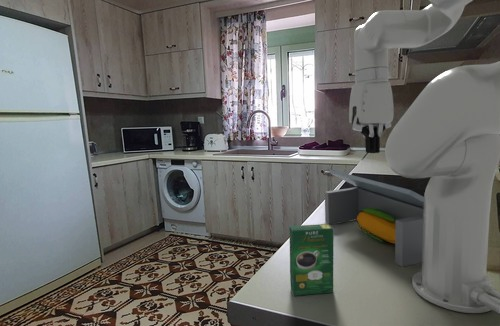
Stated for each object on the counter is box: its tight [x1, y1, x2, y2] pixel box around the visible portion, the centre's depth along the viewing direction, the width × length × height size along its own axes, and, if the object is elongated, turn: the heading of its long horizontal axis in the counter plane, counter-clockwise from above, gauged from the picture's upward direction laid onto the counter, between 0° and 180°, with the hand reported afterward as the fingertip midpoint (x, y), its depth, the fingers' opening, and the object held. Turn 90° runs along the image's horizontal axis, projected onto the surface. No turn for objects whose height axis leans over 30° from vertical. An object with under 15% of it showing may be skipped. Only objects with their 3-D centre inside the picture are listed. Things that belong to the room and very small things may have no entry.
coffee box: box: [289, 223, 335, 297], centre depth 56 cm, size 8×3×13 cm, turn 93°
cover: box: [328, 169, 424, 207], centre depth 78 cm, size 31×12×1 cm, turn 17°
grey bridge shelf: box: [324, 186, 423, 268], centre depth 79 cm, size 31×12×10 cm, turn 17°
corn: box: [356, 208, 396, 245], centre depth 77 cm, size 7×8×20 cm
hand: (372, 152), depth 74 cm, fingers closed
